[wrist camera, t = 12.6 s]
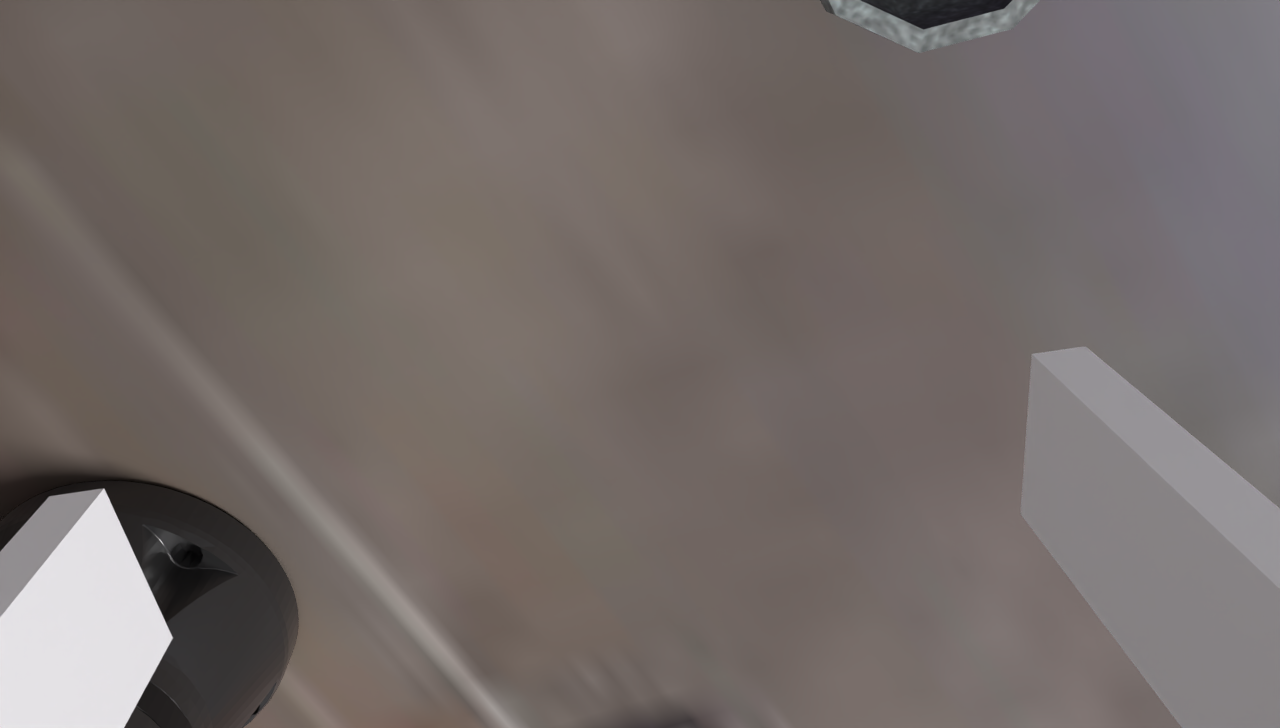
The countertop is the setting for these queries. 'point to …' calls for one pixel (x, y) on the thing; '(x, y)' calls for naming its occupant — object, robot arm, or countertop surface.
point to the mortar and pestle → (931, 19)
